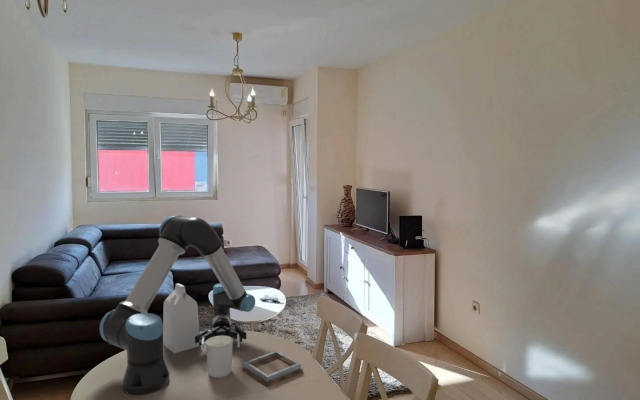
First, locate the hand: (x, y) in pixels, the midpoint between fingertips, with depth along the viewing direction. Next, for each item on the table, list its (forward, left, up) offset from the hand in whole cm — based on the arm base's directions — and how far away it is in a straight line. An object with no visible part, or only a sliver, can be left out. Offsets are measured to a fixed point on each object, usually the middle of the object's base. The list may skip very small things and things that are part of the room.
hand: (220, 345), depth 163 cm
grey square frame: (+10, -19, -6) cm, 23 cm away
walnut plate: (+10, -19, -6) cm, 23 cm away
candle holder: (-5, -8, -7) cm, 11 cm away
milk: (-5, +26, -7) cm, 27 cm away
